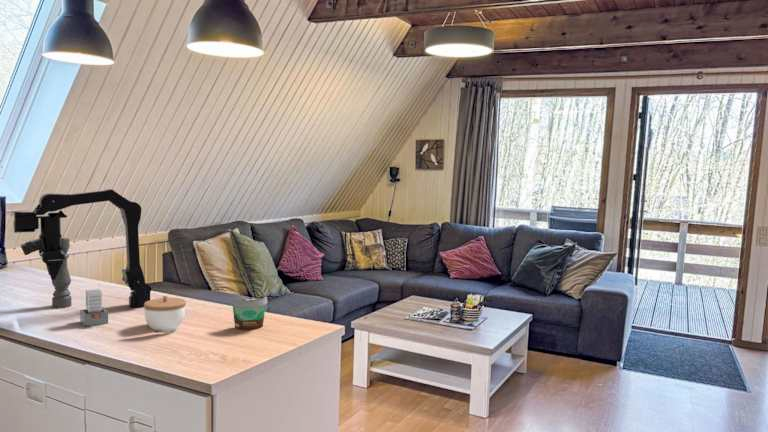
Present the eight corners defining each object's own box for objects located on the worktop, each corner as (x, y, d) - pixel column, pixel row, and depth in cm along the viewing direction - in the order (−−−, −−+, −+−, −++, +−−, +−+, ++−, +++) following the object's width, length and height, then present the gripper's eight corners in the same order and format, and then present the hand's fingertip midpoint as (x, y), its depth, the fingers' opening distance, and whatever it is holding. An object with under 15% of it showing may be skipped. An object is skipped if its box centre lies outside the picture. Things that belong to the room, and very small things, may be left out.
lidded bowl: (144, 325, 183) (144, 293, 182) (184, 322, 188) (184, 290, 187) (144, 337, 171) (143, 302, 170) (186, 333, 176) (187, 299, 175)
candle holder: (48, 306, 202) (46, 239, 200) (63, 303, 208) (62, 237, 206) (60, 309, 200) (58, 240, 198) (75, 305, 206) (74, 238, 204)
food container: (234, 332, 178) (234, 302, 177) (230, 327, 184) (230, 298, 183) (271, 328, 184) (272, 299, 183) (266, 323, 189) (267, 295, 189)
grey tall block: (100, 320, 184) (99, 289, 183) (102, 323, 180) (102, 291, 180) (85, 321, 181) (85, 290, 181) (88, 325, 178) (87, 293, 177)
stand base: (112, 317, 191) (112, 303, 191) (122, 327, 180) (122, 312, 179) (66, 323, 182) (66, 309, 182) (73, 334, 171) (73, 318, 171)
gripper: (20, 229, 187) (22, 274, 188) (23, 235, 172) (24, 285, 173) (58, 227, 194) (59, 271, 195) (64, 234, 178) (65, 281, 180)
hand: (51, 277), depth 186 cm, fingers open, 9 cm apart
